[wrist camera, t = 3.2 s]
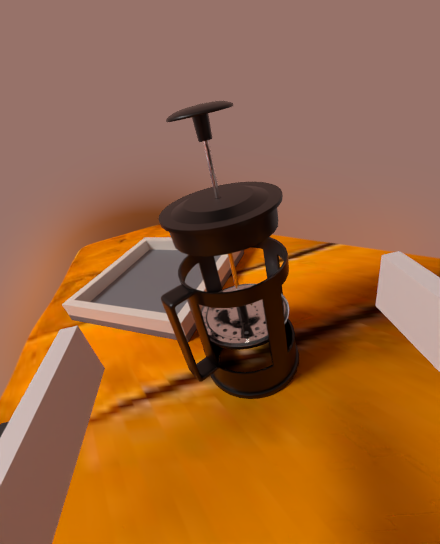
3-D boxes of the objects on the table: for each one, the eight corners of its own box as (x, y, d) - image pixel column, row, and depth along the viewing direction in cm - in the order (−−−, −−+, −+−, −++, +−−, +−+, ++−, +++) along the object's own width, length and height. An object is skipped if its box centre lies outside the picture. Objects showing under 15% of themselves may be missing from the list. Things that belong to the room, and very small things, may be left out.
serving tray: (243, 253, 48) (241, 237, 46) (188, 341, 33) (180, 323, 31) (149, 250, 56) (144, 237, 55) (72, 319, 41) (62, 304, 40)
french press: (258, 311, 35) (221, 97, 22) (323, 351, 28) (320, 74, 16) (178, 367, 30) (76, 134, 18) (233, 435, 23) (126, 125, 11)
